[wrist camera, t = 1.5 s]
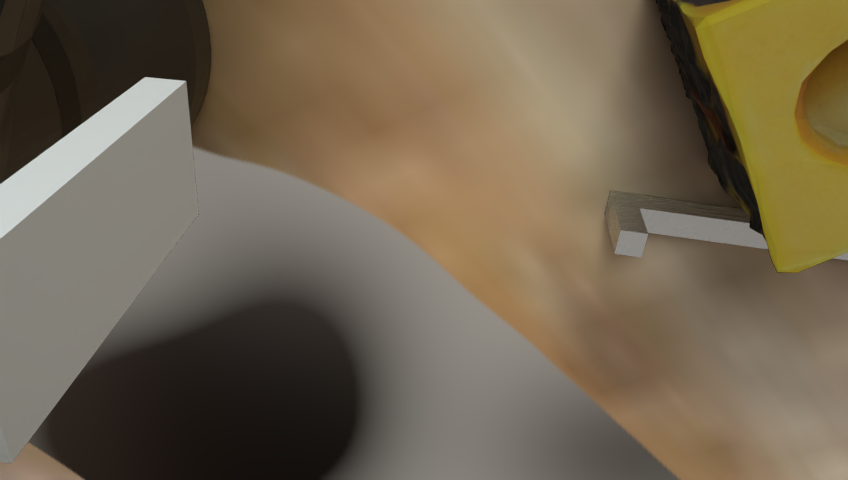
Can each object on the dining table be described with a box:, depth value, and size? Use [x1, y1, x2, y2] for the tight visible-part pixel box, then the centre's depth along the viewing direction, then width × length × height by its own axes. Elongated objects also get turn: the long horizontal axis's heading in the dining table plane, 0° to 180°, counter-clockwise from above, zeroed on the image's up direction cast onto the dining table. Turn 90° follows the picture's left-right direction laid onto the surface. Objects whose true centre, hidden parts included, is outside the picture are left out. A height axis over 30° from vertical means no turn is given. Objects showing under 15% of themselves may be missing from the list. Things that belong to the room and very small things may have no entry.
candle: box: [656, 0, 848, 273], centre depth 27 cm, size 10×10×10 cm
